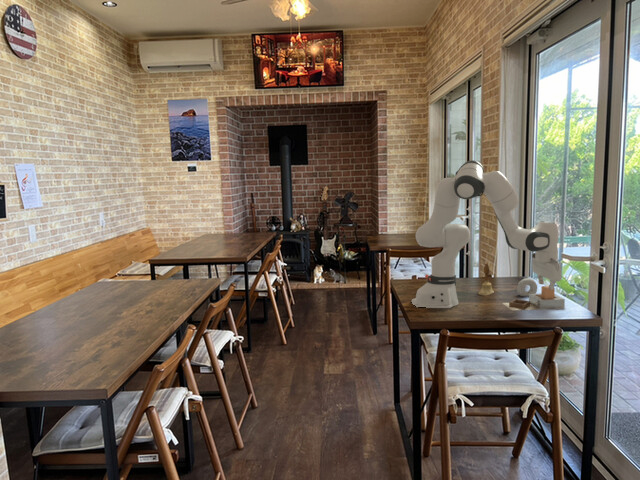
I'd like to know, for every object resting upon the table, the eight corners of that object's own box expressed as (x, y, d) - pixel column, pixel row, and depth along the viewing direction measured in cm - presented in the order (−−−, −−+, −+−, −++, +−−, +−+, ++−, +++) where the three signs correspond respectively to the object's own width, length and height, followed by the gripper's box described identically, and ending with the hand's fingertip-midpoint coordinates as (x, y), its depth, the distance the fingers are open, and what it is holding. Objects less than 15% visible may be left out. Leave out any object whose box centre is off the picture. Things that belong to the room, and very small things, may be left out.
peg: (554, 306, 209) (554, 288, 208) (545, 306, 209) (545, 288, 208) (549, 304, 213) (550, 285, 212) (541, 304, 213) (541, 286, 212)
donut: (535, 296, 232) (535, 276, 230) (538, 298, 228) (539, 278, 227) (515, 297, 231) (515, 278, 230) (518, 299, 228) (519, 279, 226)
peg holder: (524, 309, 207) (524, 304, 207) (509, 306, 212) (509, 302, 212) (530, 305, 212) (530, 301, 211) (515, 303, 216) (515, 299, 216)
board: (511, 313, 206) (511, 310, 206) (501, 306, 218) (501, 303, 218) (566, 311, 206) (566, 308, 205) (553, 304, 218) (553, 300, 217)
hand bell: (479, 295, 238) (479, 265, 236) (477, 291, 246) (477, 262, 244) (496, 296, 236) (496, 265, 234) (494, 291, 244) (494, 262, 242)
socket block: (539, 308, 206) (539, 300, 206) (528, 302, 217) (529, 293, 217) (564, 307, 206) (564, 299, 205) (552, 301, 217) (552, 292, 216)
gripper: (566, 260, 199) (565, 292, 201) (543, 252, 219) (542, 281, 221) (551, 261, 199) (550, 292, 201) (529, 253, 219) (529, 281, 221)
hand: (546, 286), depth 211 cm, fingers open, 8 cm apart
